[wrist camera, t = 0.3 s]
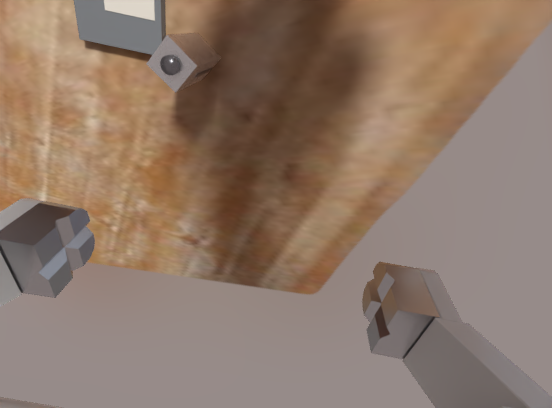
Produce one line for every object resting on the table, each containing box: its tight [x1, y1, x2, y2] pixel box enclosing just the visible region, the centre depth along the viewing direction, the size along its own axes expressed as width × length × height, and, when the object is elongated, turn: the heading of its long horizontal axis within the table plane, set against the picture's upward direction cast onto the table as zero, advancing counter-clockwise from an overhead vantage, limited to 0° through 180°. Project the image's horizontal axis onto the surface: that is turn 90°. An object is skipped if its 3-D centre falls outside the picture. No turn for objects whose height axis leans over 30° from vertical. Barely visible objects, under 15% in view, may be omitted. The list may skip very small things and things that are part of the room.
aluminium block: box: [147, 33, 221, 92], centre depth 44 cm, size 5×5×13 cm
